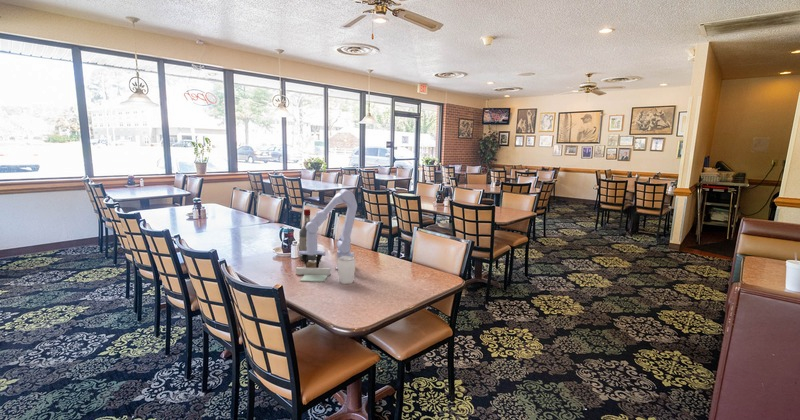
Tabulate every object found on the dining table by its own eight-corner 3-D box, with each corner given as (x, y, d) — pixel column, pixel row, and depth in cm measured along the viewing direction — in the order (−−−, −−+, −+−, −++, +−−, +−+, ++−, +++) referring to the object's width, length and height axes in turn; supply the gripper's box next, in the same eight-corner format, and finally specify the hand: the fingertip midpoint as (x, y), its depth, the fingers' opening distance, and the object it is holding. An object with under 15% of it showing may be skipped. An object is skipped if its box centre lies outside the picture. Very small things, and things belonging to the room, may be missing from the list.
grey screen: (330, 274, 200) (330, 268, 200) (330, 275, 199) (330, 268, 199) (296, 273, 200) (296, 267, 200) (296, 274, 199) (295, 268, 199)
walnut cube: (318, 269, 209) (317, 259, 208) (315, 272, 204) (315, 262, 203) (308, 269, 209) (308, 259, 208) (306, 271, 204) (306, 262, 203)
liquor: (299, 257, 231) (298, 208, 227) (314, 256, 234) (314, 208, 229) (300, 261, 223) (299, 211, 218) (316, 260, 225) (315, 210, 221)
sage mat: (327, 276, 198) (327, 274, 198) (324, 281, 189) (324, 280, 189) (304, 275, 198) (304, 274, 198) (300, 281, 189) (300, 280, 189)
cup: (358, 280, 193) (358, 257, 191) (350, 285, 184) (350, 262, 182) (342, 277, 195) (342, 255, 194) (334, 283, 187) (333, 260, 185)
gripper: (296, 245, 200) (297, 270, 202) (323, 245, 200) (324, 270, 202) (300, 242, 207) (300, 266, 209) (326, 242, 207) (326, 266, 209)
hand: (312, 268), depth 206 cm, fingers closed on walnut cube, 5 cm apart
